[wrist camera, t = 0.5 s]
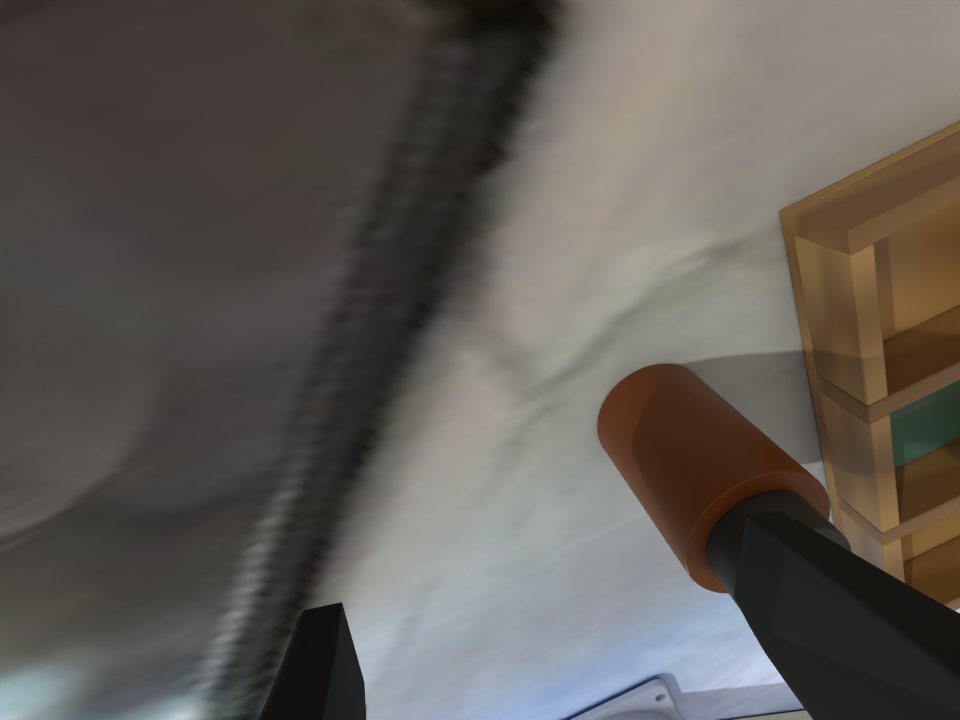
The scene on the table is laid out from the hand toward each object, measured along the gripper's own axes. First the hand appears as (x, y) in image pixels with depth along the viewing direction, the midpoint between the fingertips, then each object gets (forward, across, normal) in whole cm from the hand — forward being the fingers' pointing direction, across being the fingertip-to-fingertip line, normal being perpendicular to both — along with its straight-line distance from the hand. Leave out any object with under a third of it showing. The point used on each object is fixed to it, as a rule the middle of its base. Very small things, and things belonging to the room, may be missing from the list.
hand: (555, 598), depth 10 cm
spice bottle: (+10, -7, +4) cm, 13 cm away
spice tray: (+10, -18, +5) cm, 21 cm away
